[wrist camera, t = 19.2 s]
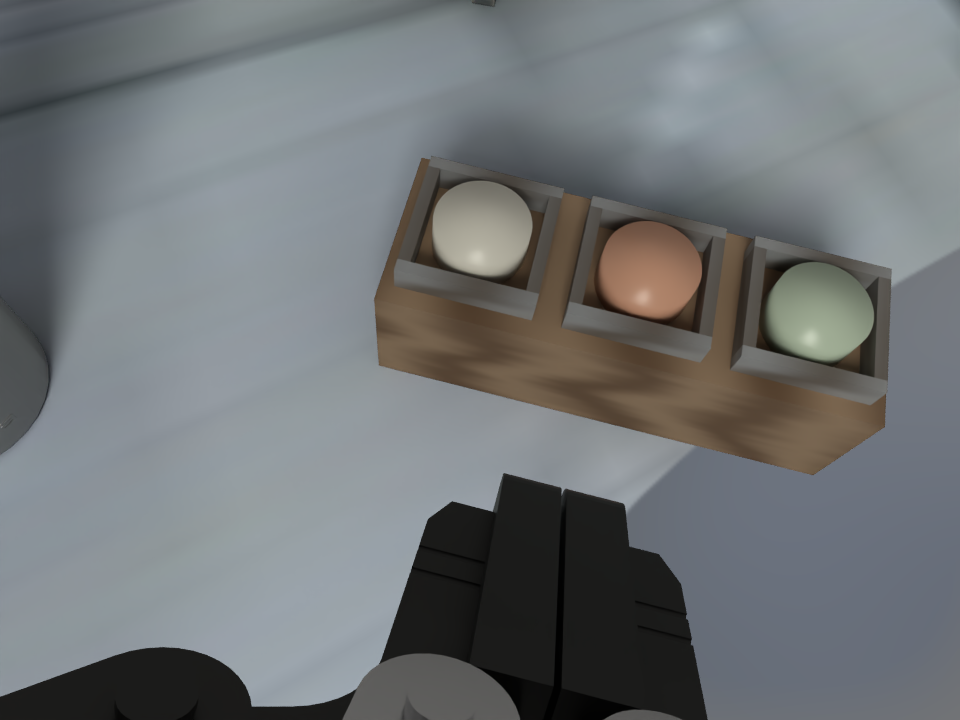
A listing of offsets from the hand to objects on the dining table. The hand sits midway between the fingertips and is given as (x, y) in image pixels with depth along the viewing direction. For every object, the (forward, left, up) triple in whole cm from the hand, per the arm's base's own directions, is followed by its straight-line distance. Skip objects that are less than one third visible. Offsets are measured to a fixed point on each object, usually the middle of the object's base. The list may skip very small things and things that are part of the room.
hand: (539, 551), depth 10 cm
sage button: (-3, +23, -24) cm, 34 cm away
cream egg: (-15, +13, -24) cm, 31 cm away
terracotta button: (-9, +18, -24) cm, 32 cm away
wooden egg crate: (-9, +18, -32) cm, 38 cm away
